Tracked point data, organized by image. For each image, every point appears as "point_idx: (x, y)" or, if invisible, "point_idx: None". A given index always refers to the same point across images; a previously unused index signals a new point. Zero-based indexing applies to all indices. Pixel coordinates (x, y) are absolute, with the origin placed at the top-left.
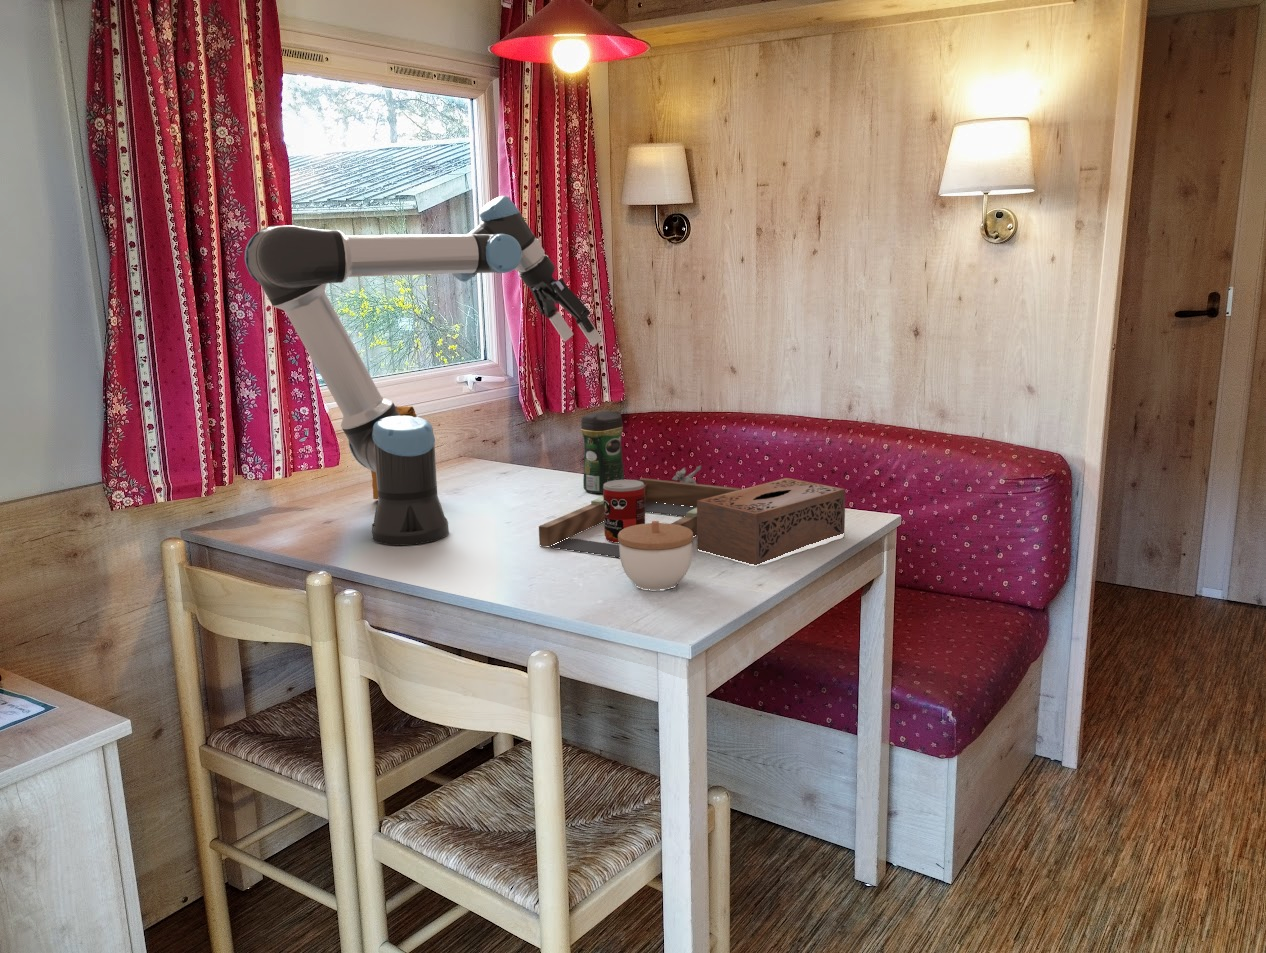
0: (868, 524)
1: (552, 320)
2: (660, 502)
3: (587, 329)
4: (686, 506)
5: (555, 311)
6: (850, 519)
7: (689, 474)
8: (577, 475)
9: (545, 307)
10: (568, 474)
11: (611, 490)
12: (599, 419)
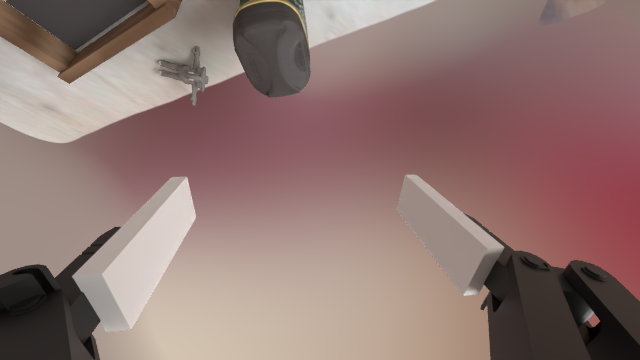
0: (12, 120)
1: (474, 242)
2: (146, 6)
3: (106, 241)
4: (110, 22)
5: (489, 295)
6: (38, 120)
7: (195, 86)
8: (381, 17)
9: (550, 351)
10: (398, 10)
11: None
12: (236, 37)
